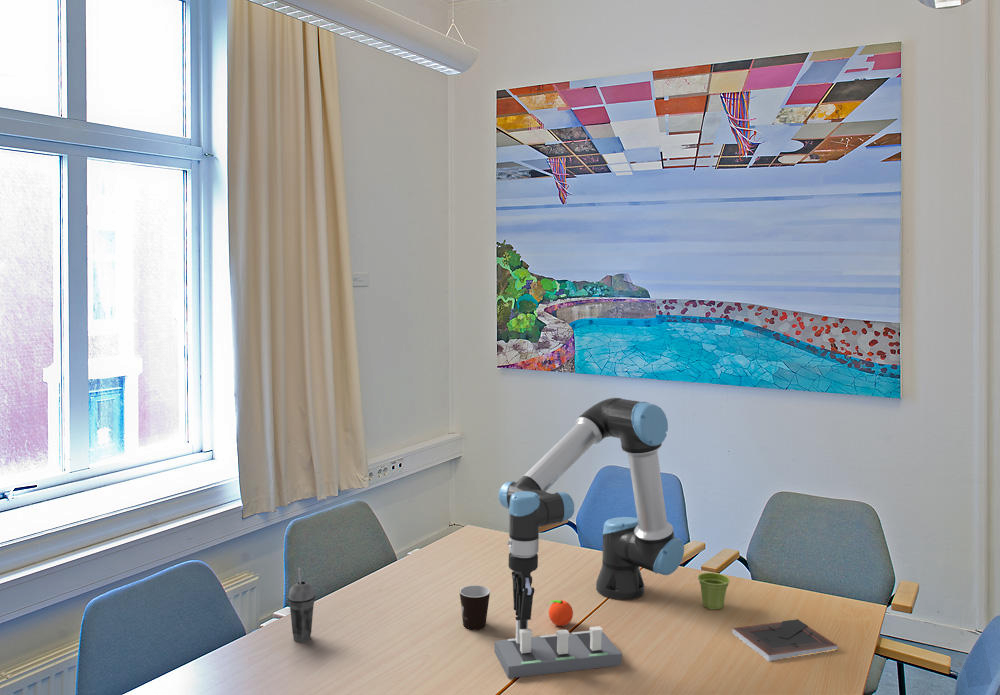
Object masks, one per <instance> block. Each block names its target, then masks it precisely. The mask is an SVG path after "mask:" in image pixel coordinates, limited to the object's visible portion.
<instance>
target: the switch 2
mask: <svg viewBox="0 0 1000 695" xmlns="http://www.w3.org/2000/svg"><path fill="white" fill-rule="evenodd" d="M603 630H604V629H603V628H602V627H601V626H600V625H598V626H589V630H588V631H590V649H591V650H592V651H596V650H601V635H602V633H604V631H603Z"/></svg>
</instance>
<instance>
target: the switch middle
mask: <svg viewBox="0 0 1000 695" xmlns="http://www.w3.org/2000/svg"><path fill="white" fill-rule="evenodd" d="M555 633H556V635H557V653H558V654H559V655H560V654H568V637H569V633H570V632H569V630H567V629H560V630H559V629H558V630H556V631H555Z"/></svg>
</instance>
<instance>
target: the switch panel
mask: <svg viewBox="0 0 1000 695" xmlns="http://www.w3.org/2000/svg"><path fill="white" fill-rule="evenodd" d="M493 648H494V654H495V656H496V657H497V660H498V661H499V663H500V666H501V667H502V669H503V671H504V674H505V675H506V677H507V679H514V678H515V679H516V678H522V677H524V678H525V677H532V676H539V675H548V674H558V673H565V672H575V671H582V670H584V671H585V670H593V669H600V668H609V667H610V668H611V667H618V666H622V660H623V659H622V658H623V653H622V652H621V651H620V650H619V648H617V646H616V645H615V644H614V643H613V641H611V640H610V638H609V637H608V636H607V635H606V634H605V633H604V632H603V633H602V635H601V650H596V651H592V650H591V649H590V631H589V630H584V631H575V632H571V633H570V632H569V637H568V654H560V655H559V654H558V653H557V635H556V634H555V633H554V634H553V633H552V634H547V635H546V634H544V635H540V636H531V652H530V653H521V651H520V644H517V642H516V637H515V638H508V639H501V640H494V646H493Z"/></svg>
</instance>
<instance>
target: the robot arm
mask: <svg viewBox="0 0 1000 695" xmlns="http://www.w3.org/2000/svg"><path fill="white" fill-rule="evenodd" d="M574 422H575V423H574V426H573V427H572V428H571V429H570V430H569V431H568V432H567V433H566V434H565V435H564V436H562V438H560V439H559V440H558V442H557V443H555V444H554V445H553V446H552V447H551V448H550V449H549V450H548V451H547V452H546V453H545V454H544V455H543V456H542V457H541V458H539V460H538V461H537V462H536V463H535V464H534V465H533V466H531V468H530V469H529V470H528V471H527V472H525V473H524V474H523V475H522V477H521V478H519V479H518V480H517V481H506V482H505V483H503V484H502V486H500V488H499V491H498V500H499V503H500V505H502V507H504V508H506V509H508V512H509V513H508V514H509V516H508V519H509V523H508V524H509V525H508V526H509V527H508V529H509V530H508V532H509V533H508V536H509V537H508V539H509V540H507V542H506V544H507V546H508V552H509V553H508V568H509V569H510V571H511V579H512V591H513V592H512V594H513V611H515V612H514V613H515V638H516V642H517V644H520V633H519V629H529V628H528V627H529V621H531V620H532V610H533V599H534V594H535V588H534V587H532V584H533V576H531V574H532V572H534V571H537V569H538V567H539V554H538V552H539V539H540V538H539V534H540V533H539V531H540V530H539V529H540V528H543V527H546V526H549V525H550V526H551V525H553V524H558V523H563V522H565V521H568V520H570V519H571V518H572V517H573V516H574V513H575V502H574V500H573V498H572V497H571V495H570V494H569V493H567V492H564V491H562V492H558V491H557V492H555V493H551V492H547V491H548V490H550V489H551V487H552V486H553V485H554V484H555V483H556V482H557V481H558V480H559V479H560V478H561V477H562V476H563V475H564V474H565V473H566V472H567V471H568V470H569V469H570V468H571V467H572V466H573V465H574V464H575V462H577V461H578V460H579V459H580V458H581V457H582V456H583V455H584V454H585V453H586V452H587V451H588V450H589V449H590V448H591V447H592V446H593V445H598V444H600V443H601V442H602V441H603V440H604V439H606V438H611V437H612V438H617V439H619V440H620V445H621V446H620V447H621V450H622V451H623V452H624V453H625V454H627V458H628V464H629V471H630V478H631V483H632V484H631V485H632V490H633V491H632V492H633V497H634V498H633V499H634V506H635V512H636V517H631V516H621V517H620V516H619V517H614V518H613V517H612V518H609V519H607V520H606V521H605V522H604V523H603V532H602V563H601V564H602V565H601V568H600V571H599V573H598V576H597V580H596V583H595V584H596V585H595V587H596V588H595V590H596V591H597V592H598V594H599V595H602V596H603V597H606V598H609V599H613V600H622V601H623V600H624V601H626V600H634V599H638V598H640V597H642V596H644V594H645V582H644V579H643V576H642V572H641V569H640V568H642V569H645V570H647V571H650V572H653V573H654V574H659V575H663V576H669V575H672V574H673V573H675V572H676V571H677V569H678V568H679V567H680V565H681V563H682V561H683V557H684V554H685V544H684V541H683V540H681V539H680V538H679V537H675V533H674V531H675V530H674V526H673V525H672V523H670V522H668V519H667V511H666V506H665V505H666V504H665V497H664V491H663V482H662V476H661V468H660V460H659V452H658V451H659V450H660V448H661V447H662V446H663V445H662V443H664V441H665V440H666V438H667V432H668V430H669V422H668V418H667V415H666V413H665V411H664V410H663V409H662V408H661V407H660V406H658V405H657V404H654V403H650V402H647V401H638V400H632V399H625V398H621V397H610V398H606V399H604V400H601V401H599V402H597V403H595V404H594V405H592V406H591V407H589V408H587V409H586V410H585V411H584V412H582V414H581V415H579V417H578V418H576V420H575V421H574Z"/></svg>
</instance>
